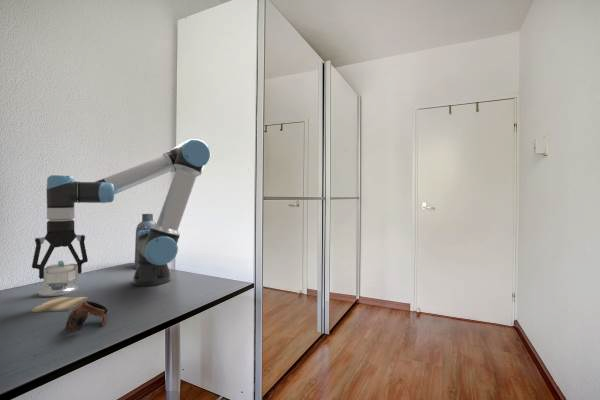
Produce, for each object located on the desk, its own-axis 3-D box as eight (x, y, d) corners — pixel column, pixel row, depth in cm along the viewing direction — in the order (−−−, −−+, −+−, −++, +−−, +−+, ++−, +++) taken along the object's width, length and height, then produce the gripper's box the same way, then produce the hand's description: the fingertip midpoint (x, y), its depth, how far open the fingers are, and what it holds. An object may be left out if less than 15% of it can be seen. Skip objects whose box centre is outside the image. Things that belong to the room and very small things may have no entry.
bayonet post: (84, 286, 125) (83, 263, 125) (65, 296, 113) (65, 270, 113) (52, 287, 124) (52, 263, 123) (30, 297, 112) (30, 271, 111)
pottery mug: (70, 324, 91) (87, 297, 93) (100, 336, 92) (116, 310, 95) (49, 331, 79) (69, 300, 82) (84, 344, 81) (102, 314, 83)
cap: (76, 280, 104) (76, 262, 104) (47, 284, 99) (46, 265, 99) (73, 275, 110) (73, 258, 110) (45, 279, 105) (45, 261, 105)
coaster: (87, 298, 111) (87, 296, 111) (68, 310, 100) (68, 307, 100) (54, 300, 110) (54, 297, 110) (31, 311, 99) (31, 309, 99)
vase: (134, 270, 152) (134, 215, 152) (134, 265, 163) (134, 213, 162) (161, 267, 158) (161, 214, 158) (158, 263, 169) (158, 213, 168)
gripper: (94, 218, 114) (94, 277, 114) (20, 220, 100) (20, 288, 100) (98, 219, 108) (98, 282, 109) (20, 222, 95) (20, 294, 95)
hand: (61, 285), depth 105 cm, fingers closed on cap, 8 cm apart
